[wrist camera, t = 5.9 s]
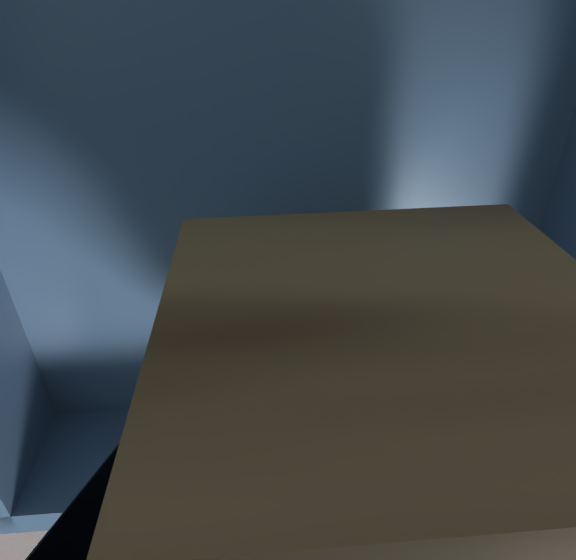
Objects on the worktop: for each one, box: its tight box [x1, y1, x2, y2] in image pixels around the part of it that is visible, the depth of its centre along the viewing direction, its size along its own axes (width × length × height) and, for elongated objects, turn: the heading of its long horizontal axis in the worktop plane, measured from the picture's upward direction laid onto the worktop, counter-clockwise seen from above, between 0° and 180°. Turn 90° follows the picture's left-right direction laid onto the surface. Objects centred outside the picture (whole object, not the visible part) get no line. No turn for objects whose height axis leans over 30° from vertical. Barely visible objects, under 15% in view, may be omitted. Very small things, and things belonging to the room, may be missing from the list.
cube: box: [86, 204, 576, 560], centre depth 6 cm, size 5×5×5 cm
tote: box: [0, 0, 576, 534], centre depth 8 cm, size 17×13×4 cm
